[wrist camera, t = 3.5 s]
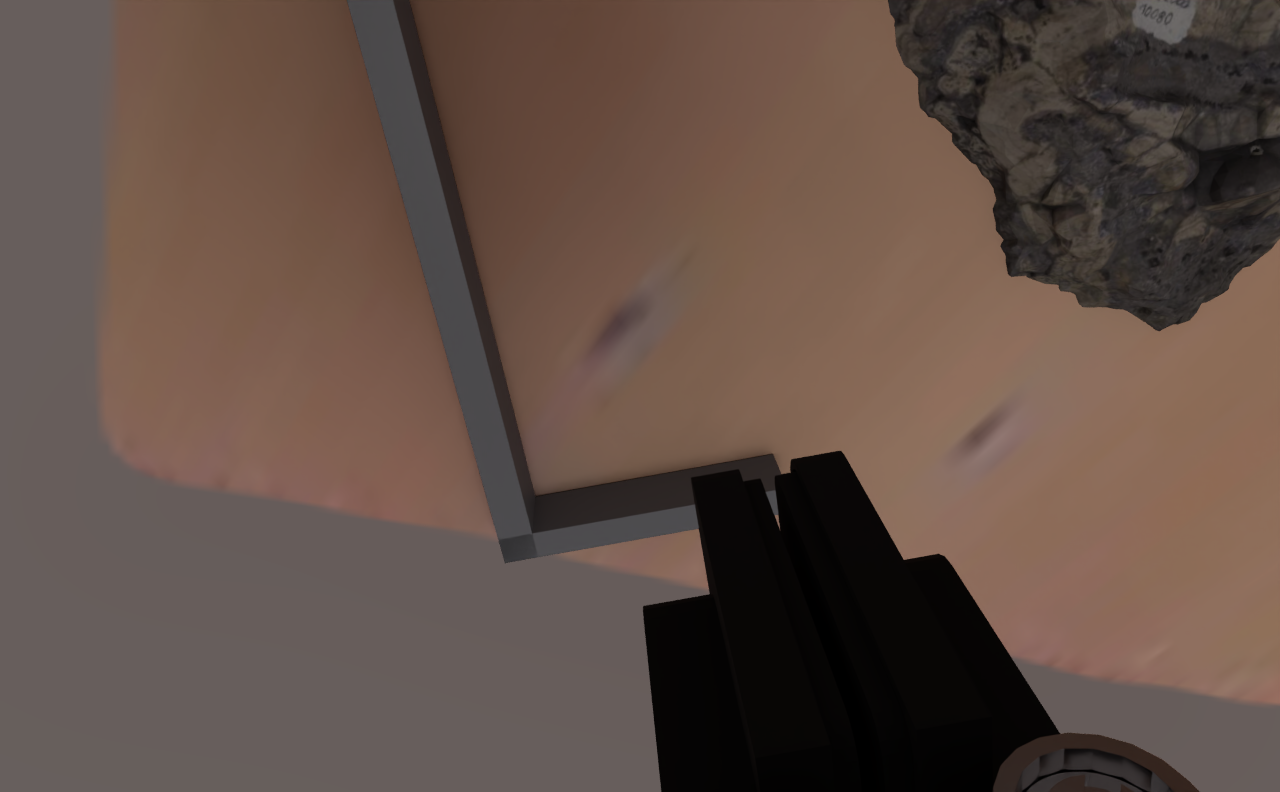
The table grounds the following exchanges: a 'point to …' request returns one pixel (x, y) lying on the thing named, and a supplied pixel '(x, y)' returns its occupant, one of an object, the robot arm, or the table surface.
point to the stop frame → (470, 336)
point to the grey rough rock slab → (1113, 137)
